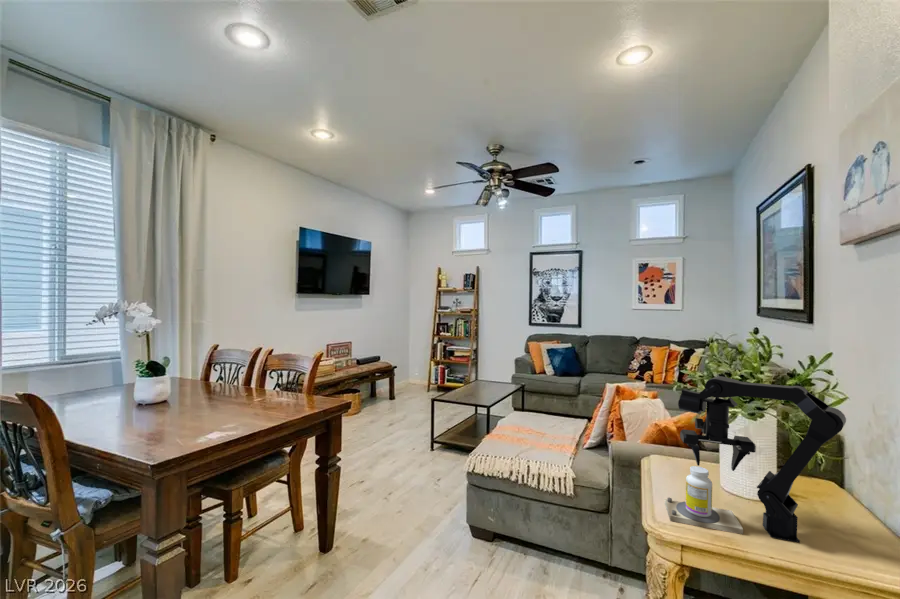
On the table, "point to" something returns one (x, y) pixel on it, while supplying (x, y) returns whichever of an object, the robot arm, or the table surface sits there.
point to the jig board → (716, 520)
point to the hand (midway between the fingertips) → (715, 467)
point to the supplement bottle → (699, 492)
